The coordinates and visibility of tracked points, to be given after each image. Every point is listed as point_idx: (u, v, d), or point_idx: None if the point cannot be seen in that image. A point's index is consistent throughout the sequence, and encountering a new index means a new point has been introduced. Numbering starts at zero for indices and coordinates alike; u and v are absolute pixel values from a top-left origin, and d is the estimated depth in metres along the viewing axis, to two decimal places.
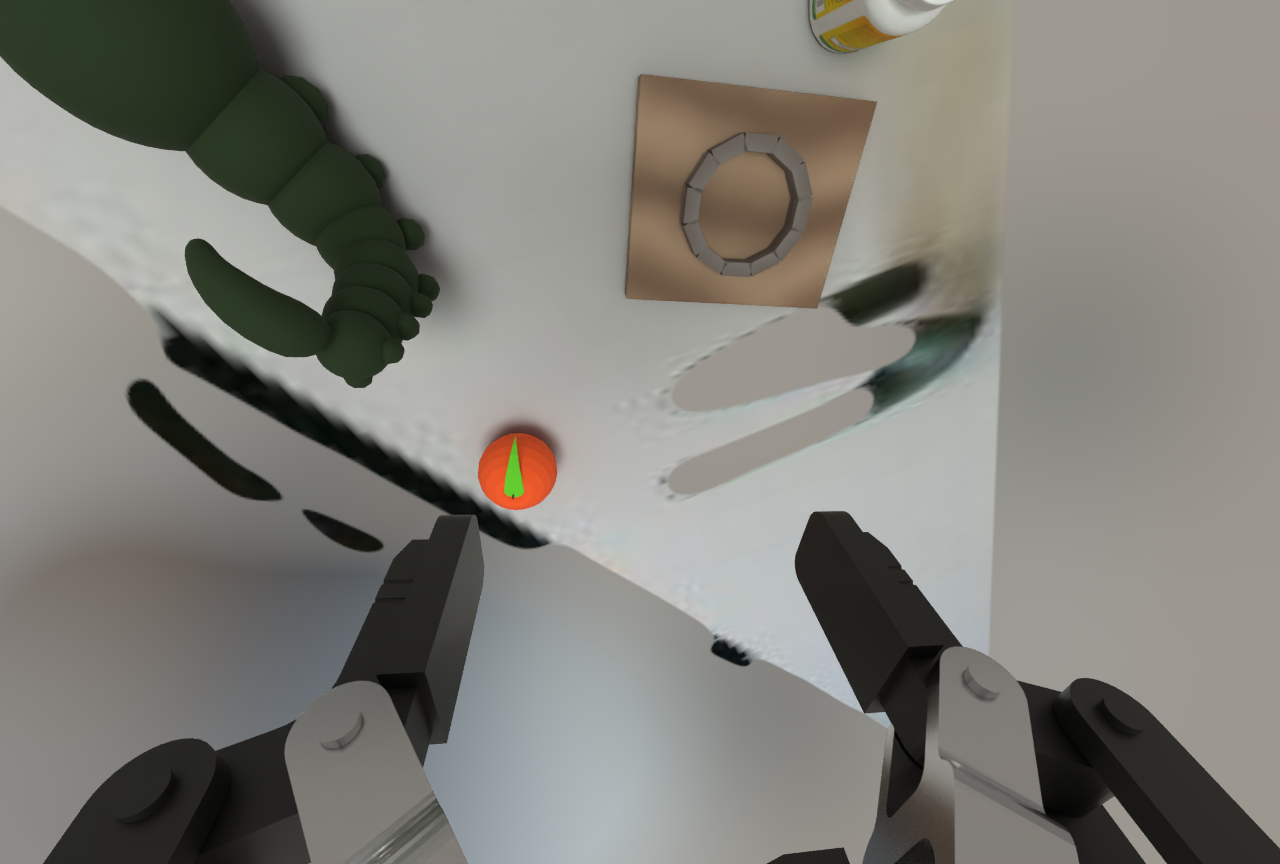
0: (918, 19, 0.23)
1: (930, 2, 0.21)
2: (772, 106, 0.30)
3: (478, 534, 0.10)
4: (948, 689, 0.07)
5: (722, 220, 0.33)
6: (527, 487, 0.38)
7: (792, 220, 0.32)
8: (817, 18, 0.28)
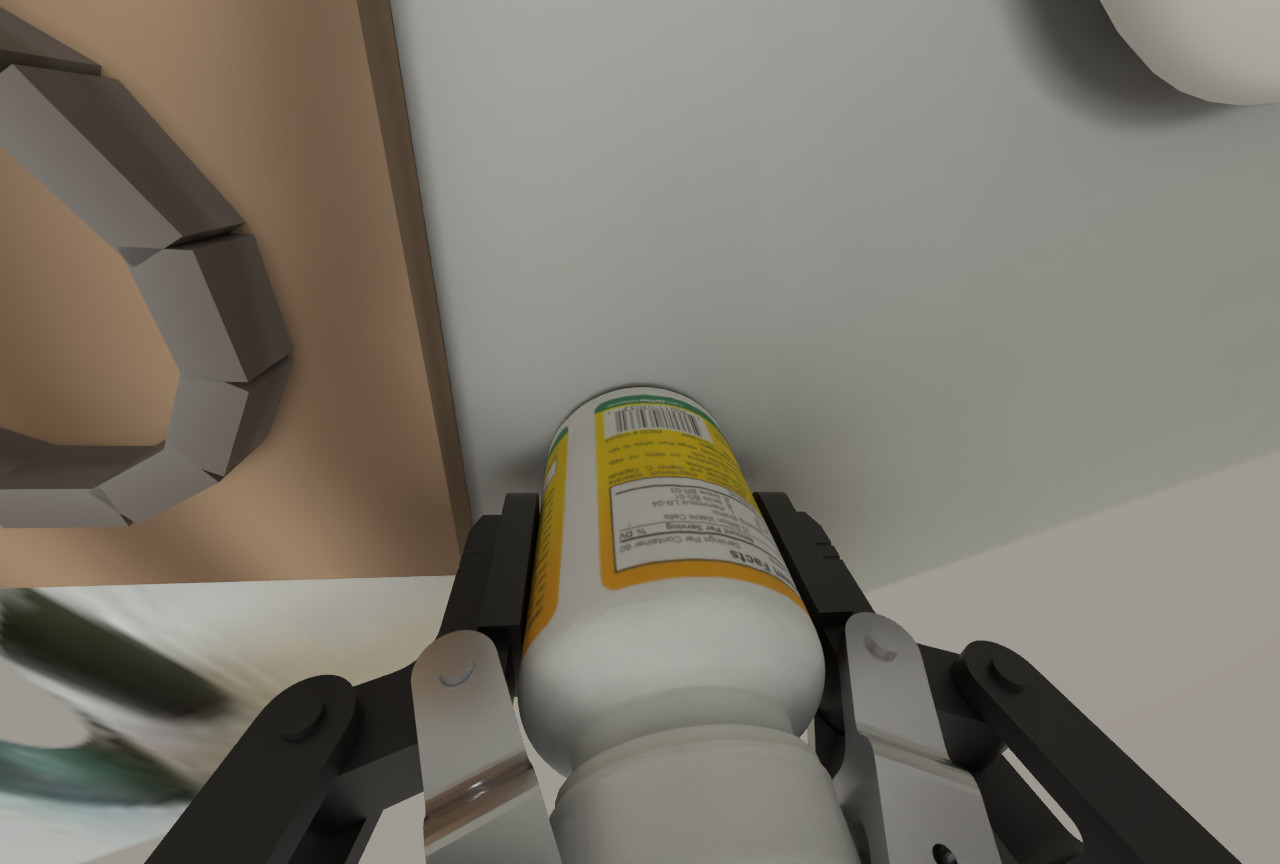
0: (549, 762, 0.07)
1: None
2: (375, 340, 0.09)
3: (539, 512, 0.11)
4: (856, 658, 0.07)
5: None
6: None
7: (23, 481, 0.09)
8: (595, 416, 0.11)
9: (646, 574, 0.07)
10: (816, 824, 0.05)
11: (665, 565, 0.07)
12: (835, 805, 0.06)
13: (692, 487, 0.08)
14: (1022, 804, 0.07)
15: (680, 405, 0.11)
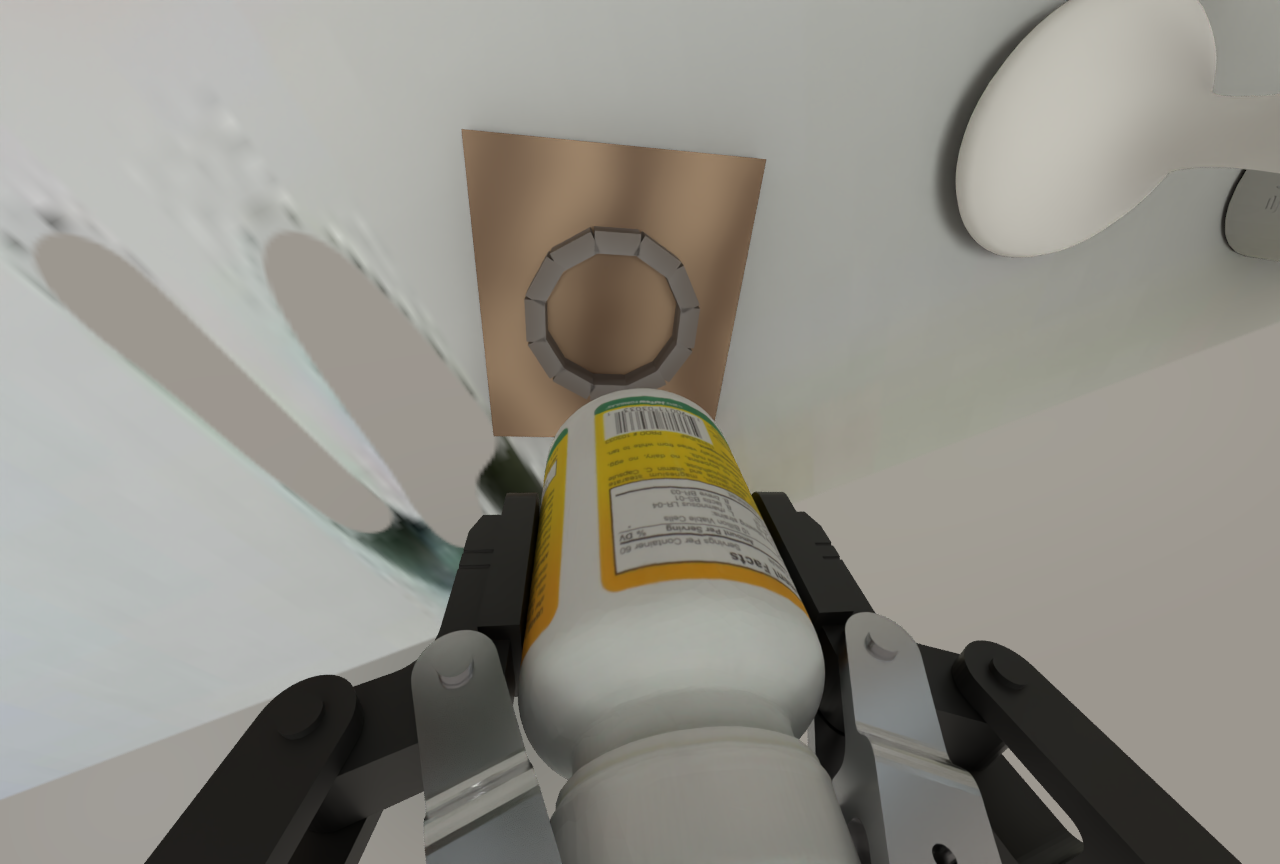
0: (550, 764, 0.07)
1: None
2: (716, 335, 0.26)
3: (539, 512, 0.11)
4: (856, 659, 0.07)
5: (596, 291, 0.24)
6: None
7: (602, 383, 0.26)
8: (595, 418, 0.11)
9: (646, 576, 0.07)
10: (816, 826, 0.05)
11: (665, 567, 0.07)
12: (835, 807, 0.06)
13: (692, 488, 0.08)
14: (1022, 804, 0.07)
15: (680, 406, 0.11)
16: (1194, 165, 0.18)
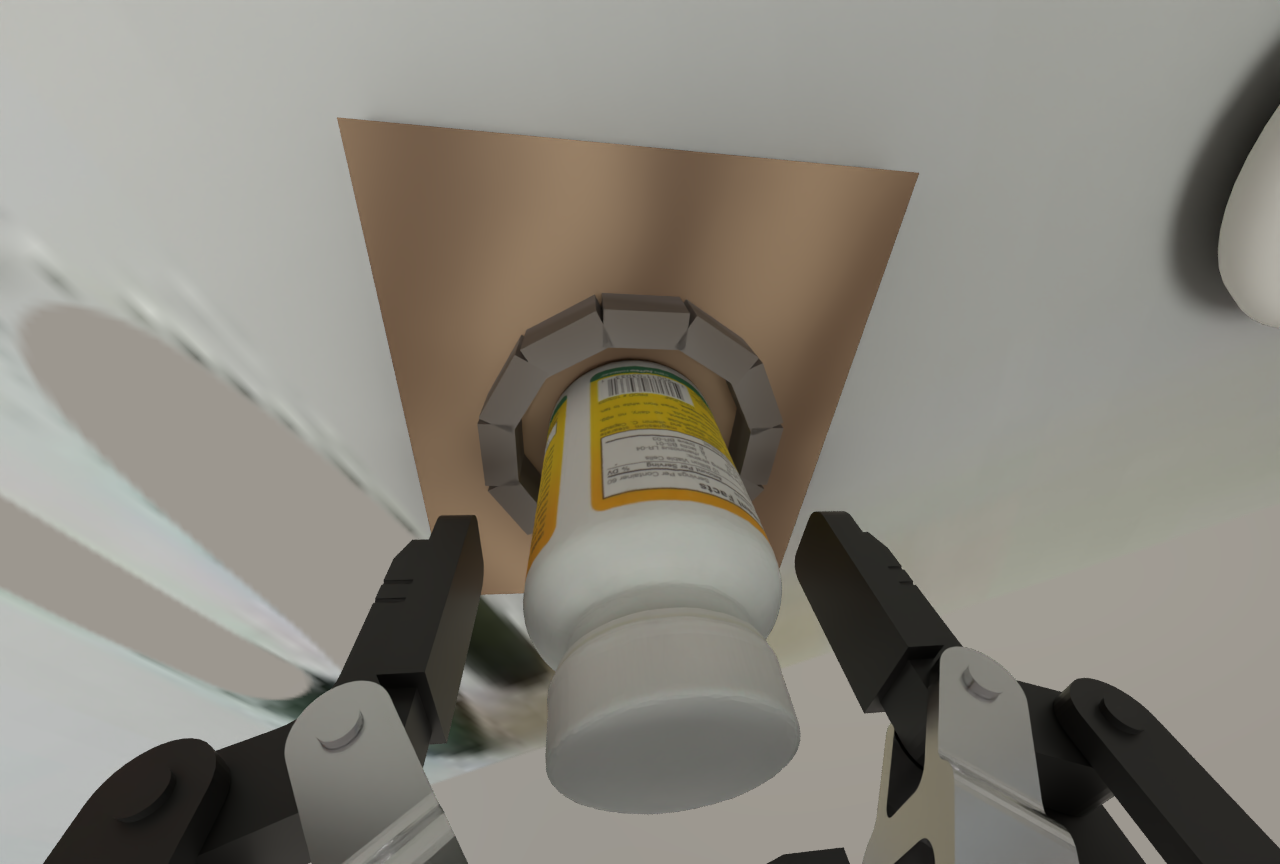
0: (550, 661, 0.09)
1: (548, 765, 0.07)
2: (797, 452, 0.16)
3: (478, 534, 0.10)
4: (948, 689, 0.07)
5: None
6: None
7: None
8: (590, 384, 0.12)
9: (627, 498, 0.08)
10: (755, 675, 0.07)
11: (643, 492, 0.08)
12: (776, 671, 0.07)
13: (671, 437, 0.10)
14: (1121, 863, 0.07)
15: (666, 375, 0.13)
16: None
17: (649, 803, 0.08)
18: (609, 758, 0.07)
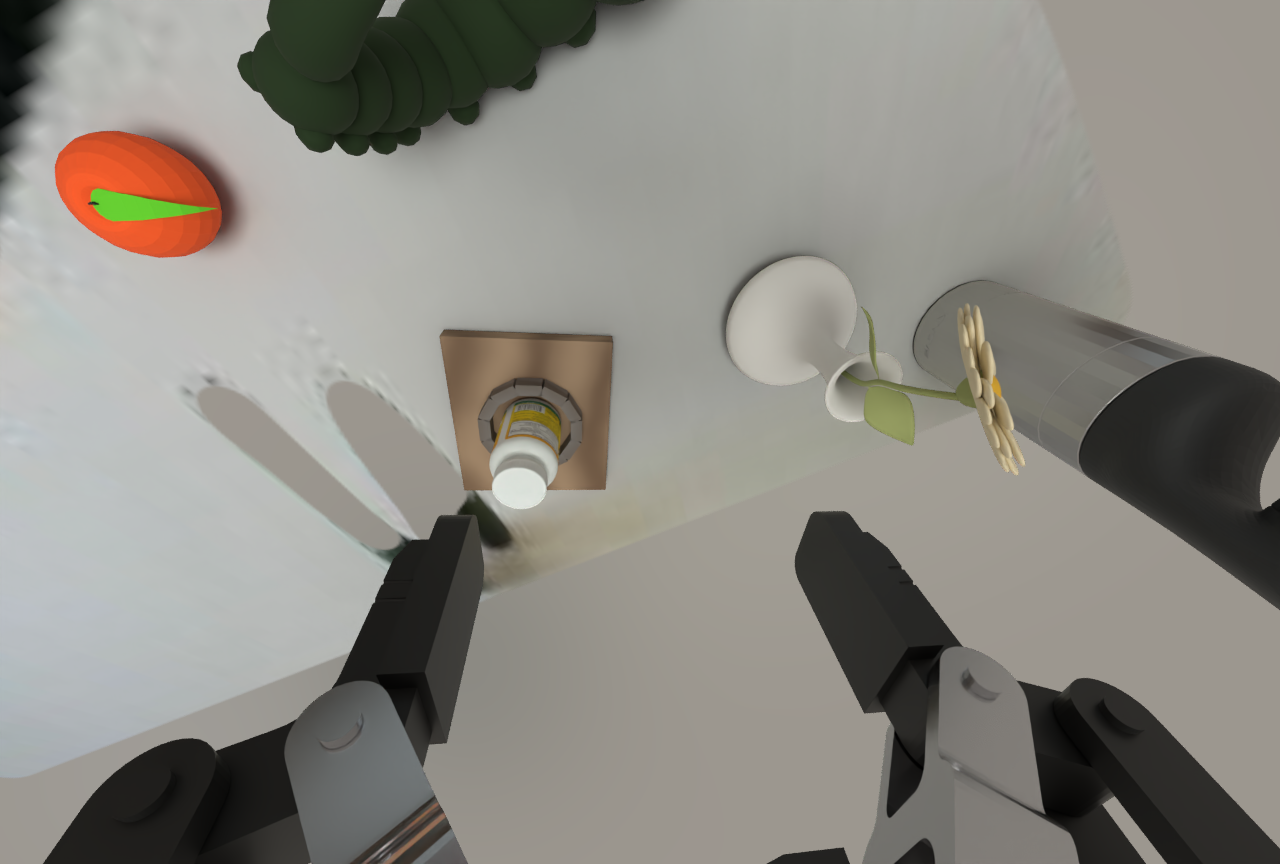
0: None
1: (492, 487, 0.33)
2: (599, 430, 0.43)
3: (478, 534, 0.10)
4: (948, 689, 0.07)
5: None
6: (124, 227, 0.26)
7: None
8: (513, 406, 0.39)
9: (513, 436, 0.35)
10: (532, 468, 0.33)
11: (517, 435, 0.35)
12: (540, 470, 0.34)
13: (530, 422, 0.36)
14: (1122, 863, 0.07)
15: (538, 403, 0.39)
16: None
17: (516, 503, 0.34)
18: (504, 485, 0.33)
